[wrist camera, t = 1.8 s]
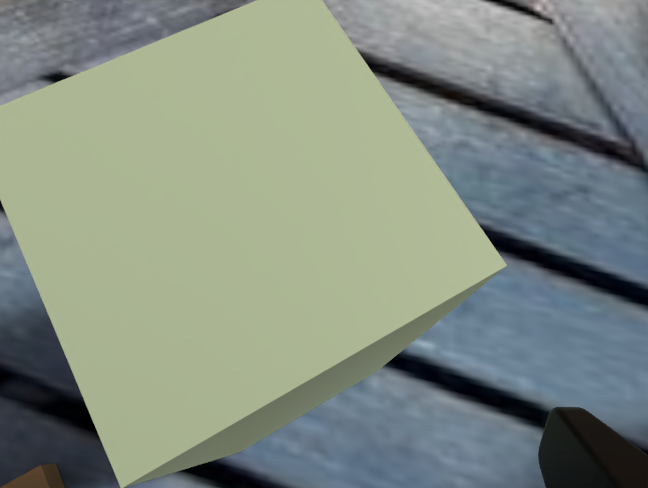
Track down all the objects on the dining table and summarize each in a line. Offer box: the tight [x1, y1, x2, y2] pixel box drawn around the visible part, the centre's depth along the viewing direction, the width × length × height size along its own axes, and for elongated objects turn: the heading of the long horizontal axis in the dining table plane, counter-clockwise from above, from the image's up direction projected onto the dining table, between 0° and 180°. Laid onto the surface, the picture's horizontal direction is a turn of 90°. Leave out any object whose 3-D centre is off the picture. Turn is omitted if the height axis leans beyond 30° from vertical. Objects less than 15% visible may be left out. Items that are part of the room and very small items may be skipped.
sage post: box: [0, 0, 507, 488], centre depth 12 cm, size 5×5×12 cm
